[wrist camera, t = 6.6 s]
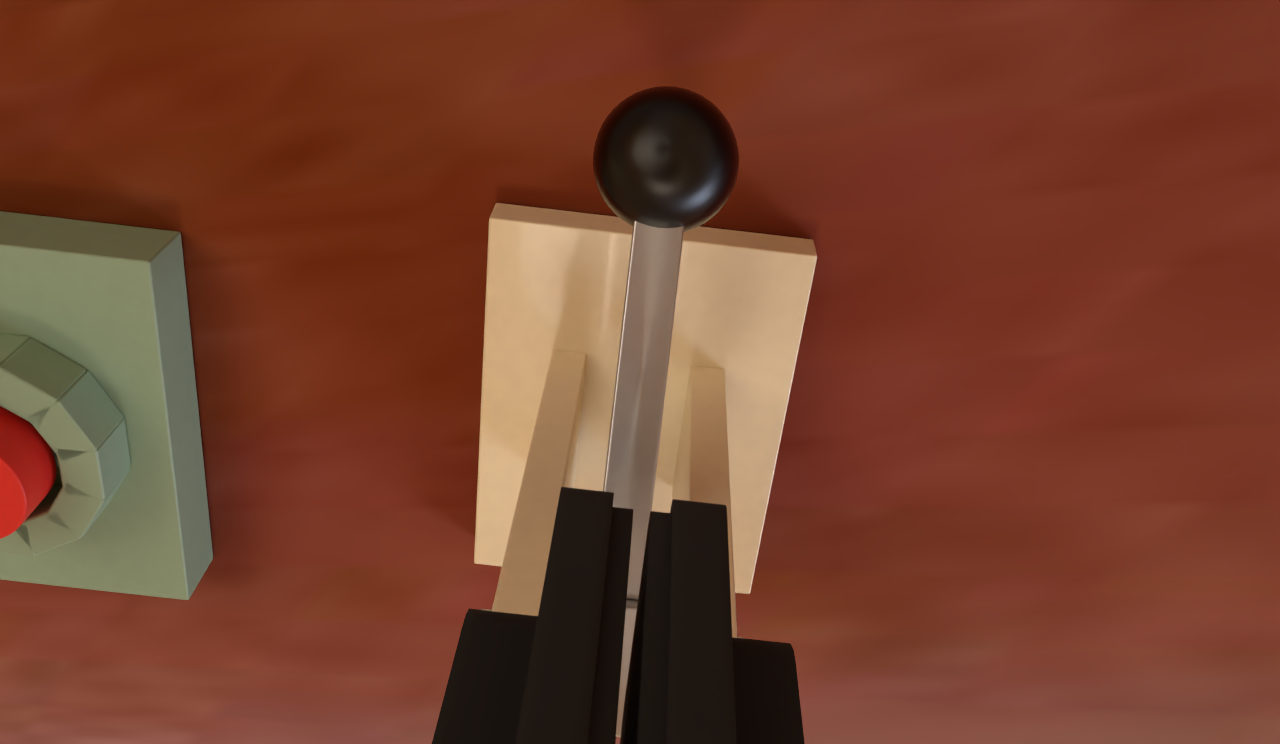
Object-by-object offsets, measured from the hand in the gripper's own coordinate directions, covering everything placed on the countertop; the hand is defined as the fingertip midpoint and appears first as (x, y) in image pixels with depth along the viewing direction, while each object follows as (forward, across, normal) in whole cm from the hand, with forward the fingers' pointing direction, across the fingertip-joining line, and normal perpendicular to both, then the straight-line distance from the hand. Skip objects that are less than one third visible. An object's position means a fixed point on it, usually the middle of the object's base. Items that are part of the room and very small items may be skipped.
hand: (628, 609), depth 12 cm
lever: (+14, 0, +6) cm, 15 cm away
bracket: (+21, 0, +10) cm, 23 cm away
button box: (+21, +18, +12) cm, 30 cm away
